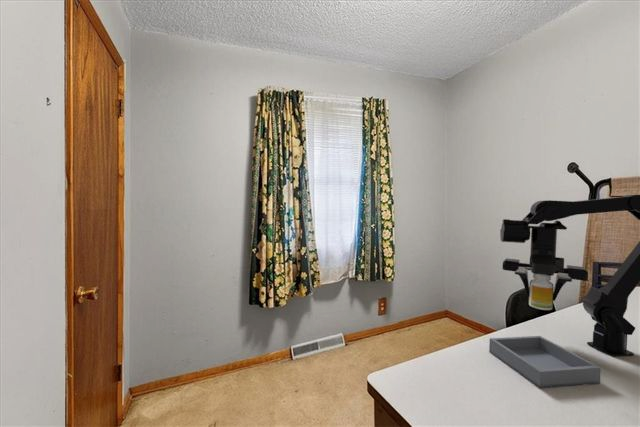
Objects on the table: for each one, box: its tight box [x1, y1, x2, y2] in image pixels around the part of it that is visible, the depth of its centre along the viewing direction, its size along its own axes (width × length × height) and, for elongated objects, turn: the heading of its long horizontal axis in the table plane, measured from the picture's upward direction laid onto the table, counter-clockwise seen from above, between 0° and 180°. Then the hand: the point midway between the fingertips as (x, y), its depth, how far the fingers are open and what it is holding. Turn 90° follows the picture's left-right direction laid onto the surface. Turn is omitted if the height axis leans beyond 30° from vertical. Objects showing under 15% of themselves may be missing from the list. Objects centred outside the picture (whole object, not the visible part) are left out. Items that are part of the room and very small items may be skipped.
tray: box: [488, 335, 602, 389], centre depth 67 cm, size 15×15×4 cm
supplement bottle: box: [528, 273, 554, 311], centre depth 81 cm, size 5×5×10 cm
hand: (540, 298), depth 81 cm, fingers closed on supplement bottle, 5 cm apart
